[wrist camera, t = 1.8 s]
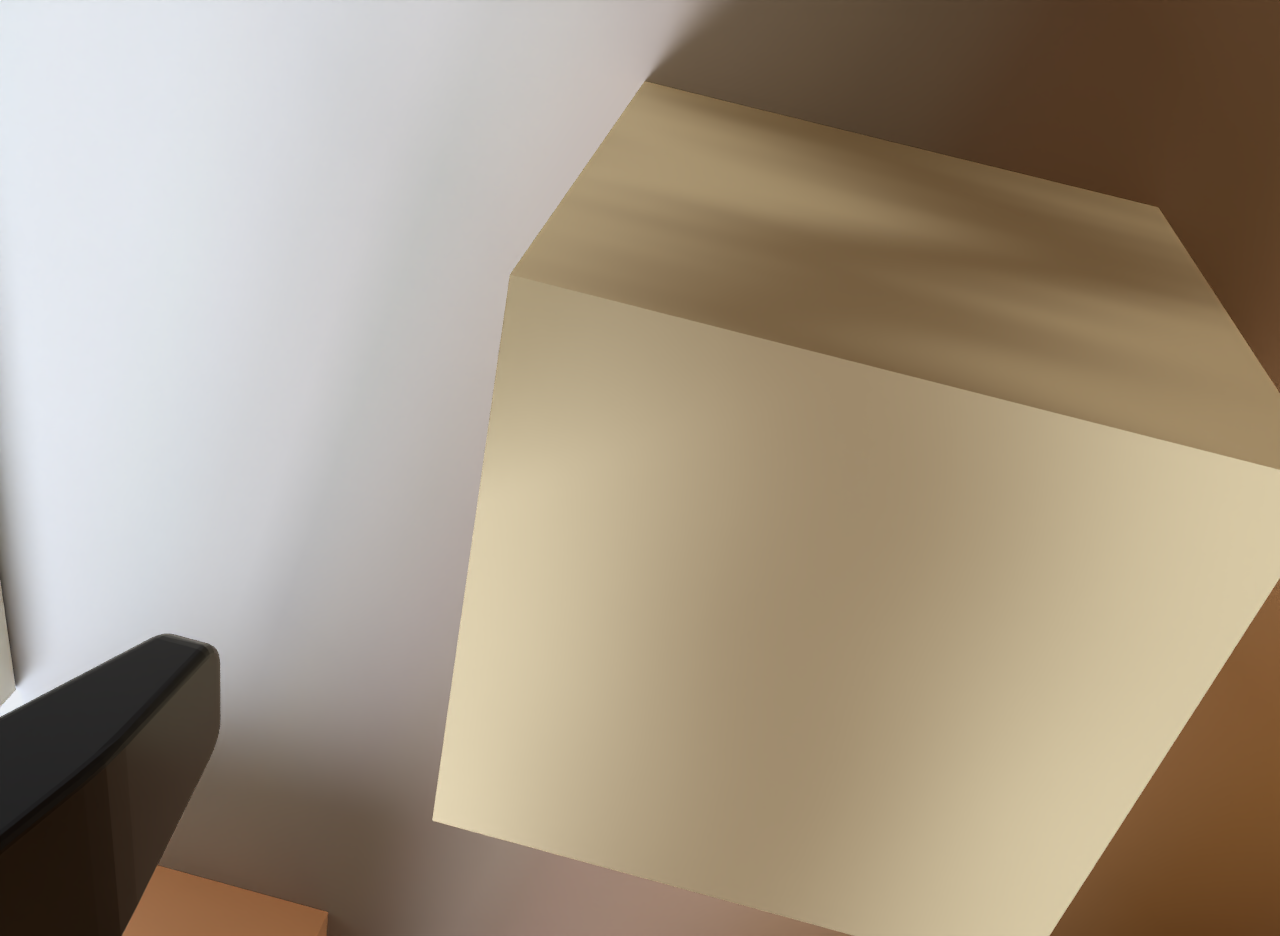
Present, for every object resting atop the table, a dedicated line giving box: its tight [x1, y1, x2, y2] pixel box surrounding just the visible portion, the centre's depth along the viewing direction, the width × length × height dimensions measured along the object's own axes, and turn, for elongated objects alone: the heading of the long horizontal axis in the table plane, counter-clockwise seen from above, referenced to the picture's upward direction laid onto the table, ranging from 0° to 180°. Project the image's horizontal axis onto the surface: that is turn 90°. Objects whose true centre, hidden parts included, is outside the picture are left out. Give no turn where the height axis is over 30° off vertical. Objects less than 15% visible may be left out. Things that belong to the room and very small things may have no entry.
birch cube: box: [432, 81, 1280, 936], centre depth 12 cm, size 6×6×6 cm
